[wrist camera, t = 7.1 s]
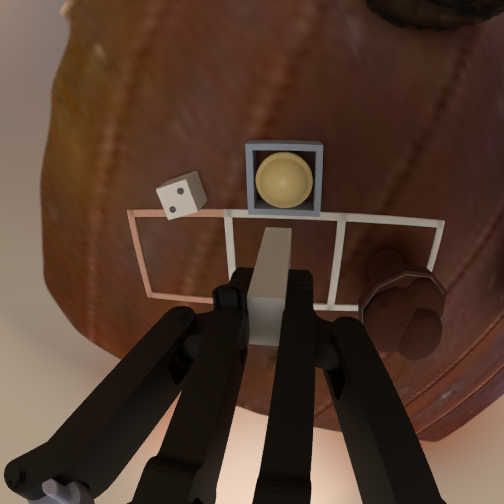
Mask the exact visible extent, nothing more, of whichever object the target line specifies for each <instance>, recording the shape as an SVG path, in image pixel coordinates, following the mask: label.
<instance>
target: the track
mask: <svg viewBox="0 0 504 504" xmlns="http://www.w3.org/2000/svg"><path fill="white" fill-rule="evenodd" d="M127 213H128V218H129V223H130V228H131V232H132V237H133V241H134V246H135V250H136V254H137V258H138V262H139V266H140V270H141V274H142V278H143V281H144V285H145V289H146V292H147V296H148V297H151V298H160V299H170V300H179V301H190V302H200V303H212V304H213V297H204V296H193V295H182V294H171V293H161V292H153V291H152V288H151V284H150V280H149V276H148V272H147V268H146V264H145V260H144V255H143V251H142V247H141V242H140V237H139V233H138V228H137V223H136V218H135V217H167V215H166V213H165V211H164V209H128V210H127ZM181 217H224V222H225V235H226V247H227V259H228V270H229V281H230V279H231V276H232V273H233V272H234V271H235V270H236V261H235V247H234V232H233V217H246V218H282V219H308V220H330V221H337V231H336V241H335V250H334V258H333V266H332V274H331V281H330V289H329V295H328V302H327V304H325V303H313V307H314V310H339V311H358V304H334V303H335V297H336V291H337V285H338V278H339V272H340V265H341V257H342V250H343V242H344V233H345V224H346V221H350V222H367V223H383V224H398V225H412V226H425V227H437V228H436V232H435V236H434V240H433V244H432V248H431V252H430V256H429V260H428V263H427V267H426V268H427V269H429V270H430V271H431V272H432V270H433V266H434V263H435V259H436V256H437V252H438V248H439V245H440V241H441V237H442V233H443V229H444V224H445V220H437V219H426V218H414V217H402V216H389V215H375V214H359V213H342V212H322V211H320V217H310V216H284V215H248V209H200V210H199V211H198V212H196V213H192V214H188V215H185V216H181Z"/></svg>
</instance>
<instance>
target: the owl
mask: <svg viewBox="0 0 504 504" xmlns="http://www.w3.org/2000/svg"><path fill="white" fill-rule="evenodd" d="M367 4H368V6H369V8H370V10H371V11H372V12H374V13H376V14H378V15H380V17H382V18H383V19H385V20H387V21H389V22H390V23H392V24H393V25H395V26H398V27H401V28H402V27H405V26H407V25H415V27H416V28H417V29H418V30H420V29H424V28H434V30H436V31H437V32H440V31H441V30H442V29H449V28H452V27H455V26H459V25H470V26H475V25H476V24H478V23H479V22H483V21H486V20H489V19H491V18H492V17H494V16H495V15H500V14H499V13H502V12H504V0H367Z"/></svg>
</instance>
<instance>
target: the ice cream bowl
mask: <svg viewBox="0 0 504 504" xmlns="http://www.w3.org/2000/svg"><path fill="white" fill-rule="evenodd" d="M367 276H368V277H369V278H370V279H371V280H372V281H371V282H370V283H369V285H368V286H367V288H366V289H365V290H364V292H363V293H362V295H361V297H360V299H359V303H358V315H359V321H360V322H361V323H362V324H363V325H364V327H365V329H366V331H367V333H368V335H369V337H370V339H371V341H372V343H373V344H374V345H375V346H377V348H378V349H379V350H381V351H383V352H400V353H401V354H402V355H403V356H405V357H406V358H407V359H410V360H419V359H423V358H426V357H428V356H429V355H430V354H431V353H432V352H433V351H434V350H435V349H436V347H437V346H438V344H439V343H440V339H441V335H442V324H441V320H440V319H439V318H440V317H441V316H442V315H443V311H444V305H445V299H446V292H447V291H446V290H445V288H444V287H443V286H442V284H441V283H440V282H439V280H438V279H437V278H436V276H435V275H434V274H433V273H432V272H431V271H430V270H429V269H427V268H425V267H421V266H413V265H405V264H403V258H402V257H401V256H400V255H399V254H398V252H397V251H393V250H383V251H381V252H378V253H376V254H374V255H373V256H372V258H371V259H370V261H369V262H368V264H367Z"/></svg>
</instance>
